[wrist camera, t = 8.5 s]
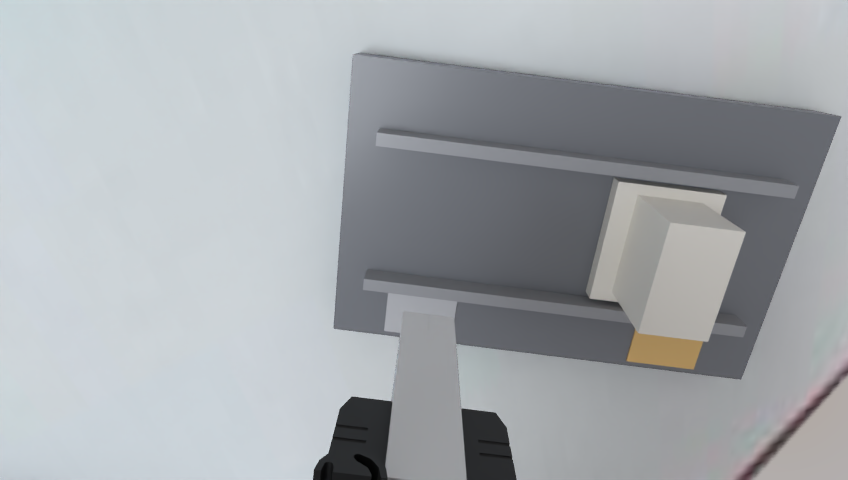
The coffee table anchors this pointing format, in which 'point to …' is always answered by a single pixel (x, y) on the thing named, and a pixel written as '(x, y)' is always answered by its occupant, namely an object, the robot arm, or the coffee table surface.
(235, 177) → the coffee table surface
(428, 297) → the switch panel
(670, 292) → the switch tab
